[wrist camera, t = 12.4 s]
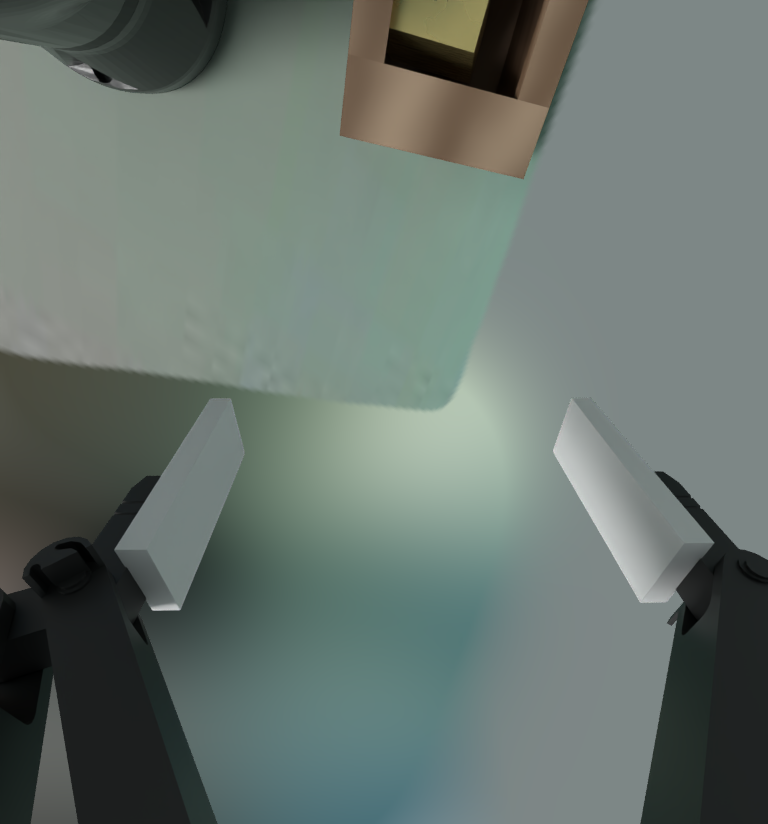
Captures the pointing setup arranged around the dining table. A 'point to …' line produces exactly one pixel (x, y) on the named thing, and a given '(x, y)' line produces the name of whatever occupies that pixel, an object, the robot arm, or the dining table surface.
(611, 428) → the robot arm
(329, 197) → the dining table surface
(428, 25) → the rectangular block
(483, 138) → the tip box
